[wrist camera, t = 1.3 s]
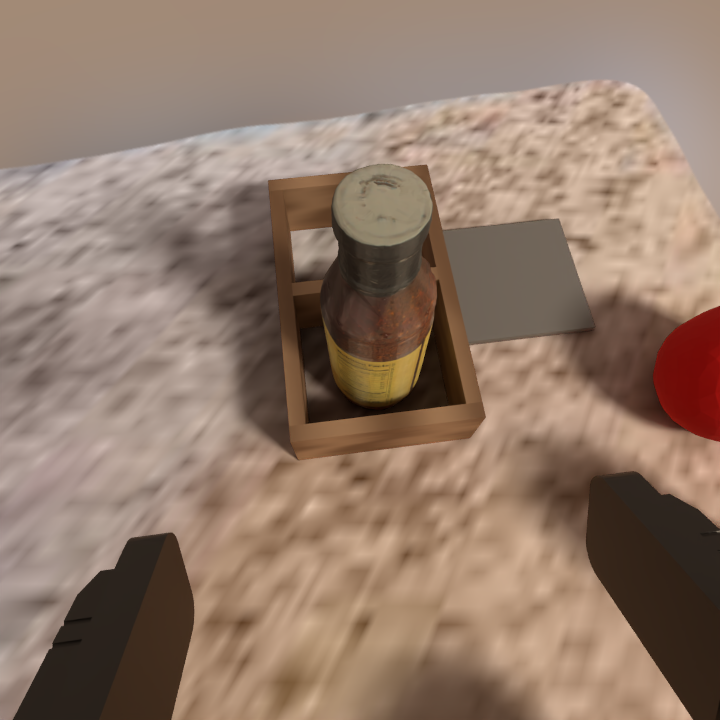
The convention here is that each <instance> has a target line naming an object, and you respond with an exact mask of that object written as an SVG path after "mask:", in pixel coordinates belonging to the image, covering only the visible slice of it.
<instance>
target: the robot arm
mask: <svg viewBox="0 0 720 720" xmlns="http://www.w3.org/2000/svg"><path fill="white" fill-rule="evenodd" d="M586 547H587V552H588V556H589V560H590V563H591V565H592V568H593V570H594V572H595V573H596V575H597V577H598V578H599V580H600V581H601V583H602V584H603V586H604V587H605V589H606V590H607V592H608V593H609V595H610V596H611V597H612V599H613V600H614V602H615V603H616V605H617V606H618V608H619V609H620V611H621V612H622V614H623V615H624V617H625V618H626V620H627V621H628V623H629V624H630V626H631V627H632V629H633V630H634V632H635V633H636V635H637V636H638V638H639V639H640V641H641V642H642V644H643V645H644V647H645V648H646V650H647V651H648V653H649V654H650V656H651V657H652V659H653V660H654V662H655V663H656V665H657V666H658V668H659V669H660V671H661V672H662V674H663V675H664V677H665V678H666V680H667V681H668V683H669V684H670V686H671V687H672V689H673V690H674V692H675V693H676V695H677V696H678V698H679V699H680V701H681V702H682V704H683V705H684V707H685V708H686V710H687V711H688V713H689V714H690V716H691V717H692V719H693V720H720V529H719V528H717V527H716V526H715V525H714V524H713V523H712V522H711V521H710V520H709V519H708V518H707V517H706V516H705V515H704V514H702V513H701V512H700V511H699V510H698V509H696V508H694V507H692V506H691V505H689V504H687V503H685V502H683V501H681V500H680V499H678V498H676V497H674V496H672V495H670V494H666V495H661V494H660V493H659V492H658V491H657V490H655V489H654V488H653V487H652V486H651V485H650V484H649V483H648V482H647V481H646V480H645V479H644V478H643V477H642V476H641V475H640V474H639V473H637V472H634V471H631V472H624V473H617V474H609V475H602V476H596V477H594V478H593V479H592V481H591V484H590V494H589V507H588V520H587V533H586ZM193 625H194V600H193V594H192V590H191V587H190V583H189V580H188V576H187V573H186V569H185V565H184V562H183V558H182V555H181V551H180V548H179V544H178V541H177V538H176V536H175V535H174V534H173V533H164V534H156V535H149V536H142V537H134V538H130V539H129V540H128V541H127V543H126V545H125V547H124V549H123V551H122V554H121V556H120V558H119V560H118V562H117V565H116V567H115V569H111V570H104V571H100V572H99V573H98V574H97V575H96V576H95V577H94V578H93V579H92V580H91V581H90V582H89V583H88V584H87V585H86V587H85V588H84V589H83V590H82V591H81V592H80V593H79V594H78V595H77V597H76V599H75V601H74V602H73V604H72V606H71V608H70V610H69V612H68V614H67V616H66V618H65V620H64V626H61V628H60V630H59V632H58V633H57V635H56V637H55V639H54V641H53V643H52V644H53V647H52V649H49V651H48V653H47V655H46V657H45V659H44V661H43V663H42V665H41V666H40V668H39V670H38V672H37V674H36V676H35V678H34V680H33V682H32V684H31V686H30V688H29V690H28V692H27V694H26V696H25V697H24V699H23V701H22V703H21V705H20V707H19V709H18V711H17V713H16V715H15V717H14V719H13V720H171V718H172V714H173V710H174V706H175V702H176V697H177V693H178V689H179V685H180V681H181V677H182V672H183V668H184V664H185V660H186V656H187V652H188V648H189V643H190V639H191V635H192V631H193Z"/></svg>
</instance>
